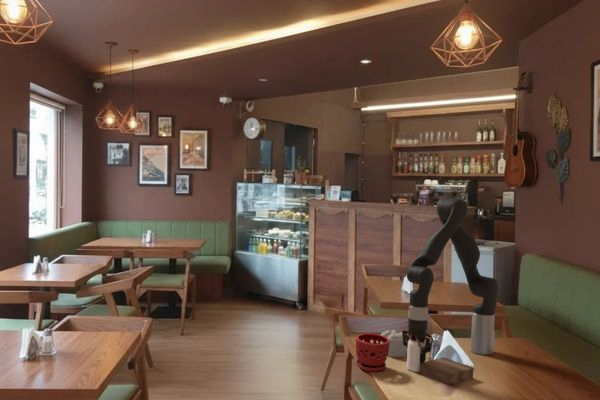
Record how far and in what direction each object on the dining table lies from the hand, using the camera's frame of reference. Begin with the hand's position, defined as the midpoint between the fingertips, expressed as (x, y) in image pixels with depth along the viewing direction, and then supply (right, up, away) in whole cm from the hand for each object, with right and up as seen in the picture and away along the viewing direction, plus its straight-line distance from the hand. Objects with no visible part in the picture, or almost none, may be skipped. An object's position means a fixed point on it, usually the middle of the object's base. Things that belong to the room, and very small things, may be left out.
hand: (416, 359), depth 208 cm
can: (0, -4, +1) cm, 4 cm away
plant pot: (-17, -4, 0) cm, 18 cm away
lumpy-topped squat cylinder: (-6, -3, +21) cm, 22 cm away
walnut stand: (+10, -5, -5) cm, 12 cm away
